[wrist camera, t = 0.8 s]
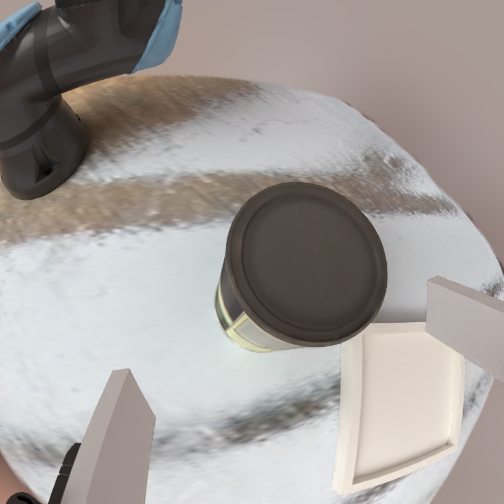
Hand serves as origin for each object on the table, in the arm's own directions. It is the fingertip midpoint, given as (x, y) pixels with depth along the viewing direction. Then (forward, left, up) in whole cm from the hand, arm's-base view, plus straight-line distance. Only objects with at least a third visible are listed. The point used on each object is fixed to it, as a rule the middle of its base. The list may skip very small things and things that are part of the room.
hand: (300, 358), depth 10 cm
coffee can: (-6, +2, -18) cm, 19 cm away
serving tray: (+6, +21, -17) cm, 28 cm away
